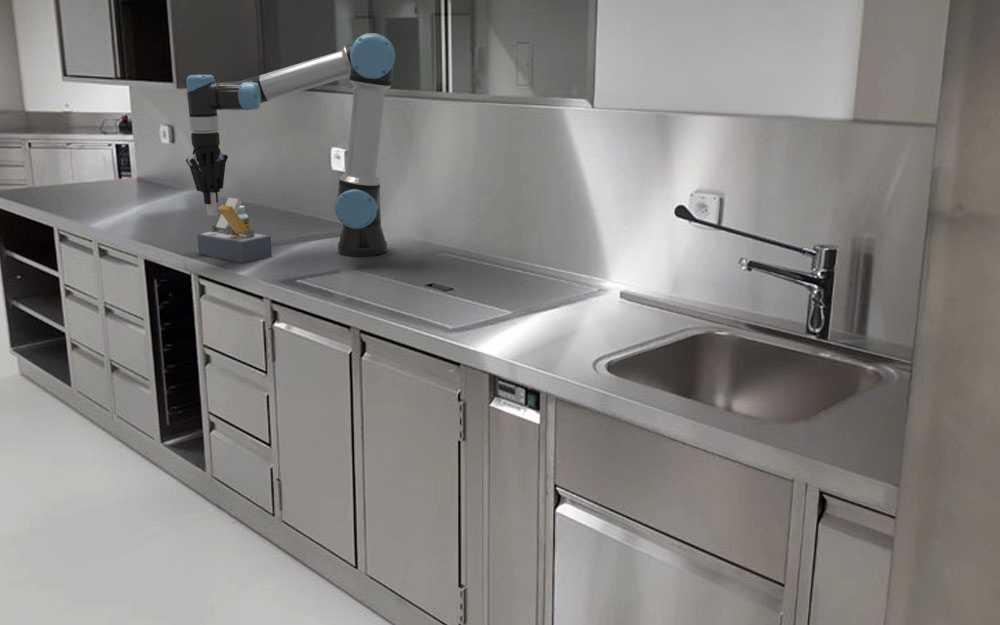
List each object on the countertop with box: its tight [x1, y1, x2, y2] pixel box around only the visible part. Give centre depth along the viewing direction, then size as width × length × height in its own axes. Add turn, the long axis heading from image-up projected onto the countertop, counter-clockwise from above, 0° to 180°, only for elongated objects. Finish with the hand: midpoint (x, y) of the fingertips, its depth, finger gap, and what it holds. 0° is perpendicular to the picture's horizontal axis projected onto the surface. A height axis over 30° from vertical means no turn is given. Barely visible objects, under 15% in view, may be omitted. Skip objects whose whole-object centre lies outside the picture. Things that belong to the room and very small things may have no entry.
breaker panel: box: [197, 222, 273, 264], centre depth 279 cm, size 20×11×9 cm, turn 55°
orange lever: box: [217, 204, 248, 235], centre depth 272 cm, size 6×2×11 cm
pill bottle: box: [237, 204, 250, 230], centre depth 295 cm, size 6×6×12 cm
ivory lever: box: [215, 197, 243, 232], centre depth 282 cm, size 6×2×11 cm
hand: (212, 214), depth 266 cm, fingers closed
